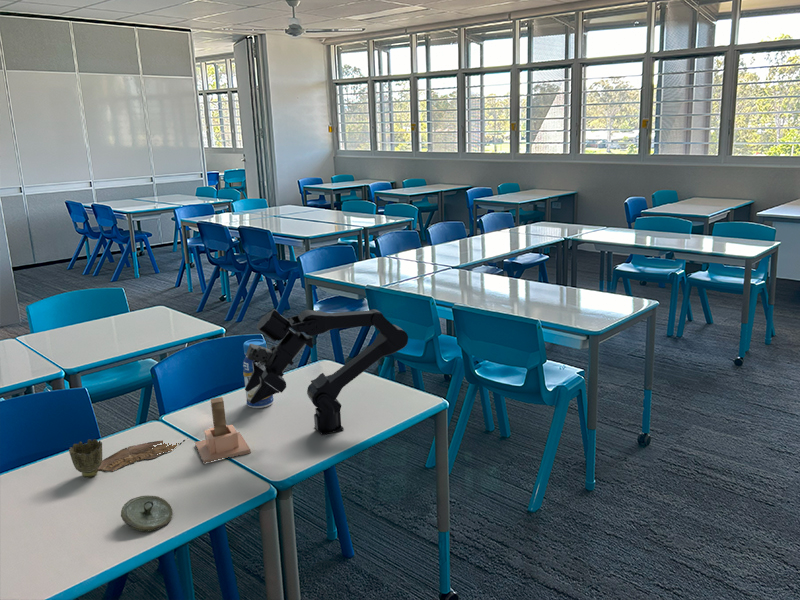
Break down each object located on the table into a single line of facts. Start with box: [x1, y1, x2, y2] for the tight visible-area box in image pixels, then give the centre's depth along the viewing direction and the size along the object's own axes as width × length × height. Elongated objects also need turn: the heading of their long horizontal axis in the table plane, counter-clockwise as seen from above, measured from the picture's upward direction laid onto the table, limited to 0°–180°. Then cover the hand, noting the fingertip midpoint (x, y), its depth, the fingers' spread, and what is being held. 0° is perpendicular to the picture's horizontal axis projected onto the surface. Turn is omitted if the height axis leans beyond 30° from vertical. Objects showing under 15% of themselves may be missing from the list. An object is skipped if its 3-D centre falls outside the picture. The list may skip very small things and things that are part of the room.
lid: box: [120, 495, 173, 532], centre depth 142 cm, size 11×10×5 cm
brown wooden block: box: [210, 396, 227, 437], centre depth 173 cm, size 3×3×13 cm
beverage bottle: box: [242, 338, 274, 409], centre depth 201 cm, size 8×8×20 cm
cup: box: [68, 438, 103, 479], centre depth 162 cm, size 8×7×8 cm
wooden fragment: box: [98, 439, 179, 473], centre depth 174 cm, size 26×11×1 cm, turn 127°
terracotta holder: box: [194, 424, 251, 464], centre depth 174 cm, size 12×12×5 cm
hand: (248, 396), depth 174 cm, fingers open, 9 cm apart
